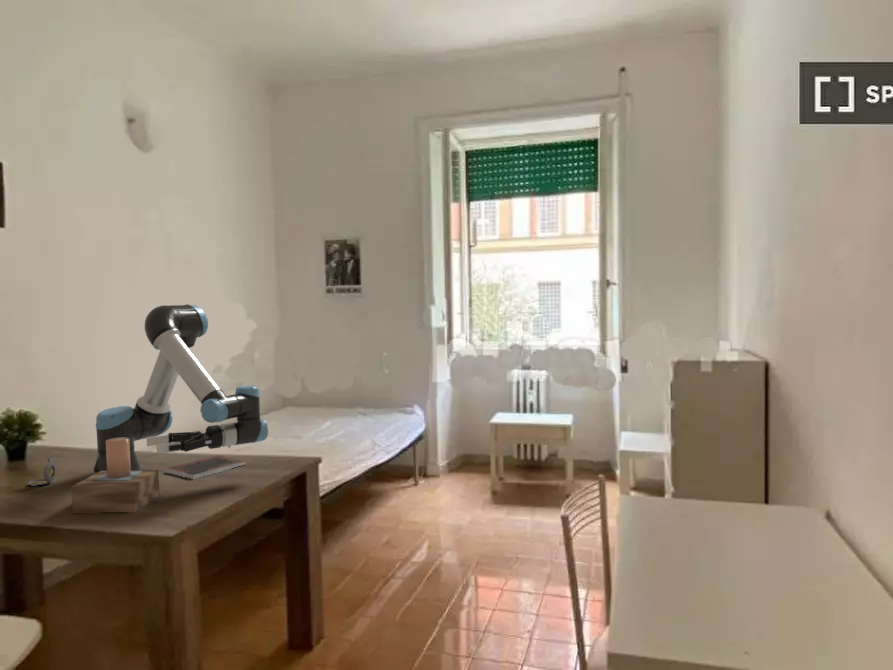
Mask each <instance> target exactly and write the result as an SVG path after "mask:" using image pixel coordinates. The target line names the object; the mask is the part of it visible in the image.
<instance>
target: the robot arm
mask: <svg viewBox="0 0 893 670" xmlns="http://www.w3.org/2000/svg"><path fill="white" fill-rule="evenodd" d="M208 328H209V321H208V318H207V314H206V312H205V311H204V309H203V308H201V307H200V306H198V305H194V304H183V305H182V304H179V305H178V304H177V305H176V304H173V305H172V304H171V305H168V304H167V305H164V304H163V305H159V306H156V307H154V308H153V309H152V310H150V312H148V314H147V316H146V317H145V320H144V331H145V335H146V337H147V340H148V341H149V343H150V345H151V346H153V348H154V349H155V350H158V351H159V353H158V356H157V358H156V362H155V364H154V366H153V369H152V372H151V375H150V377H149V380H148V382H147V385H146V389H145V391H144V394H143V396H140V397H139V398H137V400H136V402H135V406H134V407H133V408H132V406H129V405H121V406H117V407H115V406H114V407H110V408H107V409H104V410H101V411H100V412H98V414H97V415H96V419H95V423H96V424H95V429H96V444H97V445H96V447H97V448H96V449H97V457H96V461H95V464H94V467H93V471H92V475H94V474H96V473H98V472H100V471H107V456H106V440H108V439H112V438H120V437H126V438H129V442H130V465H131V470H142V466H141V463H140V460H139V458H138V455H137V454H136V451H135V442H136V441H141V440H144V439H146V447H153V446H156V454H157V455H160V454H167V453H175V452H186V453H187V452H190V451H194V450H198V449H202V448H204V447H207V448H208V449H210V450H212V449H220V448H223V447H224V448H225V447H227V448H228V449H230V448H232V446H237V445H247V444H255V443H259V442H263V441H265V440H266V439H267V438H268V435H269V427H268V422H267V421H266V420H265V419H264V418H261V411H260V410H261V409H260V392H259V387H258V386H257V385H241V386H238V387H236V389H235V394H230V395H226V393H224V391H223V390H222V388H221V387H220V386H219V384H217V383H216V381H215V380H214V379H213V377H212V376H211V375H210V373H209V372H208V370H207V369H206V368H205V367H204V366H203V364H202V363H201V361H200V360H199V359H198V358H197V357H196V355H195V353H193V352H192V350H191V348H193V347H194V346H195V344H196V341H197V338H200V337H202V336H204V335H206V332H208ZM178 377H181V380H183V382H184V383H185V384H186V385H187V387H188V388H189V390H190V391H191V392H192V393H193V395H194V396H195V397H196V399H197V400H198V401H199V402H200V404H201V405H200V409H199V411H200V414H201V417H202V419H203V420H204V421H205V422H207V423H210V424H212V423H221V422H223V421H226V420H230V419H234V418H235V419H236V420H237V422H229V423H221V424H215V425H208V426H207V427H206V429H205V432H201V431H200V430H196V431H185V432H182V431H181V432H169V433H168V434H165V433H166V432H167V431H169V429H170V428H171V426H172V423H173V416H172V415H173V412H172V410H171V405H170V404H169V401H170V398H171V395H172V392H173V389H174V386H175V384H176V381H177V379H178ZM162 434H164V435H162Z"/></svg>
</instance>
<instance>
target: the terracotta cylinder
mask: <svg viewBox="0 0 893 670" xmlns="http://www.w3.org/2000/svg"><path fill="white" fill-rule="evenodd" d="M106 456H107V477H108V478H122V477H126V476H129V475H131V465H130V442H129V438H126V437H120V438H112V439H108V440H106Z"/></svg>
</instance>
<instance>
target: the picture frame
mask: <svg viewBox="0 0 893 670" xmlns="http://www.w3.org/2000/svg"><path fill="white" fill-rule="evenodd" d="M244 464H246V460H243V459H237V458H232V457H228V456H222V455H219V454H218V455H217V454H216V455H214V456H208V457H206V458H202V459H197V460H194V461H189V462H185V463H182V464H177V465H173V466H168V467H166V468H165V473H166V474H169V473H170V475H173V474H174V475H173V476H177V475H178V476H177V477H181V476H182V478H185V477H187V478H186V479H189V478H191V479H190V480H193V479H194V480H197V479H200V478H199V477H201V478H204V477H203V476H205V477H208V476H207V475H209V476H212V475H215V474H214V473H216V474H219V473H218V472H220V473H222V471H224V472H226V471H225V470H227V471H229V470H228V469H231V468H234V467H237V466H241V465H244ZM231 470H232V469H231ZM211 474H212V475H211ZM196 478H197V479H196Z"/></svg>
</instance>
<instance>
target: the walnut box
mask: <svg viewBox="0 0 893 670" xmlns="http://www.w3.org/2000/svg"><path fill="white" fill-rule="evenodd" d="M159 470H160V469H141V470H131V475H129V476H126V477H122V478H108V477H107V471H100V472H98V473H96V474H94V475H93V474H92V475H90V476H88V477H87V478H85V479H83V480H81V481H79V482H76V484H74V485H72V486H71V487H70V492H71V509H72V514H73V513H87V514H98V513H97V512H127V513H137V512H138V511H140V510H141V509H142V508H144V506H146V505H147V504H149V503H150V502H152V501H153V500H154V499H156V498H157V497H158V496H160V474H159V473H160V472H159ZM136 511H137V512H136ZM94 512H96V513H94Z"/></svg>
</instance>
